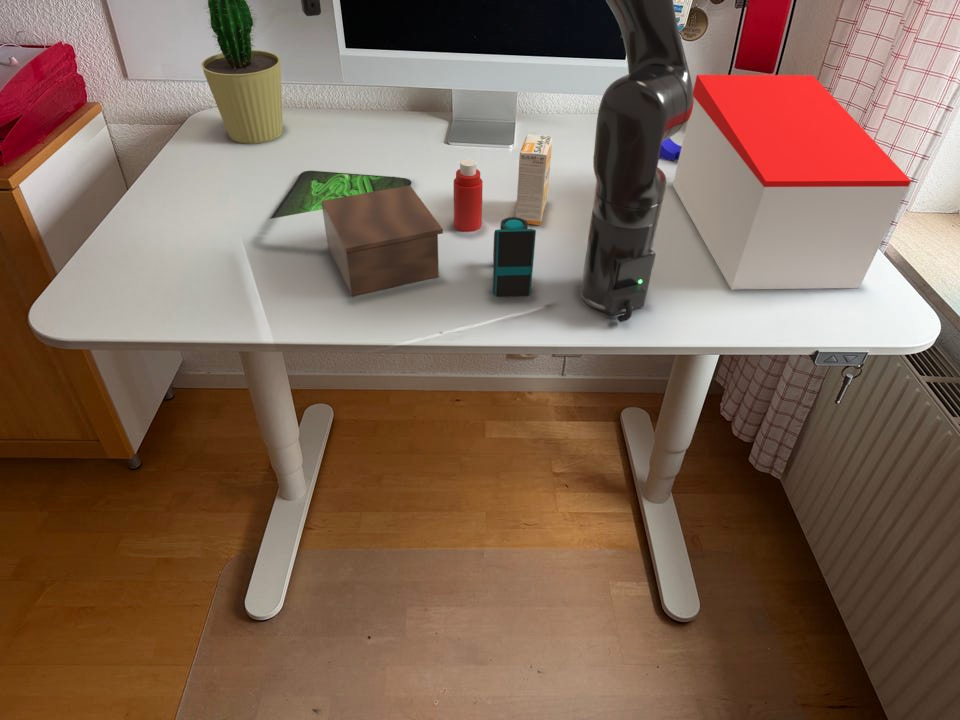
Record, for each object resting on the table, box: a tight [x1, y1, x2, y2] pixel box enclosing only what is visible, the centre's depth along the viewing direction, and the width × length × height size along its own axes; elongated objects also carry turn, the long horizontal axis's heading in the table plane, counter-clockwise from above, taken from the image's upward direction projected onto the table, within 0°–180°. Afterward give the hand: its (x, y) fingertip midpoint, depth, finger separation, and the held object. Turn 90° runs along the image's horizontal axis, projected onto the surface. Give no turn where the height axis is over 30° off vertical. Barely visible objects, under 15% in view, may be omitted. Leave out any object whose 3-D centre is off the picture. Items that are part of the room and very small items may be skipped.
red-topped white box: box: [672, 74, 912, 291], centre depth 111 cm, size 21×35×21 cm, turn 3°
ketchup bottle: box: [453, 158, 484, 233], centre depth 112 cm, size 5×5×12 cm
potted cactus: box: [201, 0, 284, 145], centre depth 135 cm, size 15×15×30 cm
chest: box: [321, 206, 440, 298], centre depth 105 cm, size 14×15×8 cm
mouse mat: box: [270, 170, 413, 219], centre depth 120 cm, size 27×22×1 cm
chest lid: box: [321, 185, 444, 253], centre depth 102 cm, size 15×15×1 cm
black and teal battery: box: [492, 216, 537, 298], centre depth 101 cm, size 6×12×10 cm
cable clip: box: [659, 137, 682, 162], centre depth 138 cm, size 12×4×6 cm, turn 58°
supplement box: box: [515, 133, 554, 226], centre depth 117 cm, size 8×5×13 cm, turn 168°
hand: (312, 14), depth 89 cm, fingers closed
